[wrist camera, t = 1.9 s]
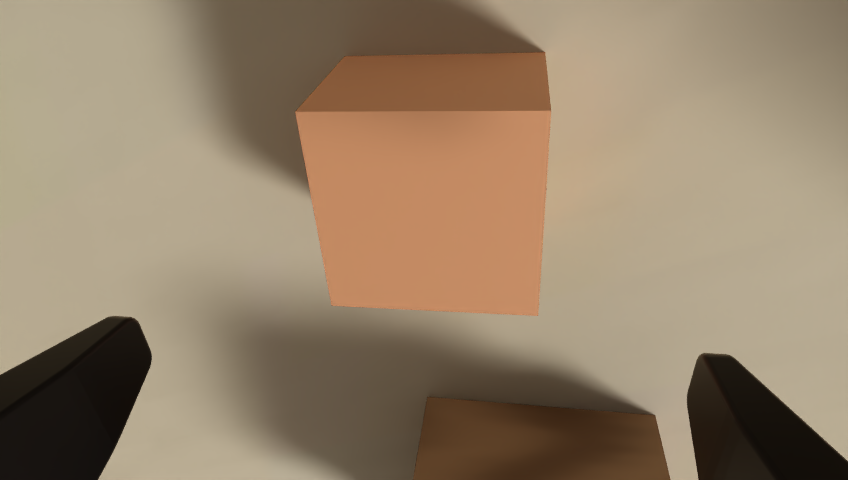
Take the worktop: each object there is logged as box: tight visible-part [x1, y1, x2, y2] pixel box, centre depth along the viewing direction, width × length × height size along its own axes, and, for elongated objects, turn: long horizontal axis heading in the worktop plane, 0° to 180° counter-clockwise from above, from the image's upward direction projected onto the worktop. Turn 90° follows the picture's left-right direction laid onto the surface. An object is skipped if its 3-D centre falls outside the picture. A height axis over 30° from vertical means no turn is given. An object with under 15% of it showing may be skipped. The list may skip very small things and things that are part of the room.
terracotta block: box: [295, 52, 551, 316], centre depth 14 cm, size 5×5×4 cm
